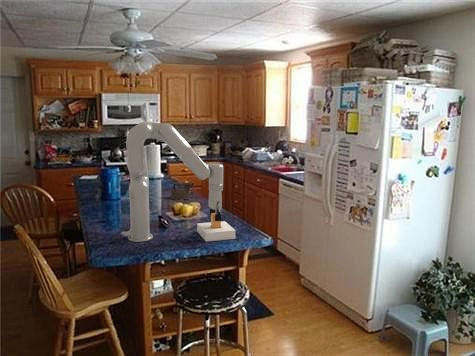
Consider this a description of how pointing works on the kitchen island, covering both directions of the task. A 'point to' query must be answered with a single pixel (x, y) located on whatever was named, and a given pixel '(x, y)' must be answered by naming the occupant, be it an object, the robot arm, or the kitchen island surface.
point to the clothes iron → (181, 191)
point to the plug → (215, 222)
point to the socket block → (215, 231)
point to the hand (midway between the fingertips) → (215, 218)
